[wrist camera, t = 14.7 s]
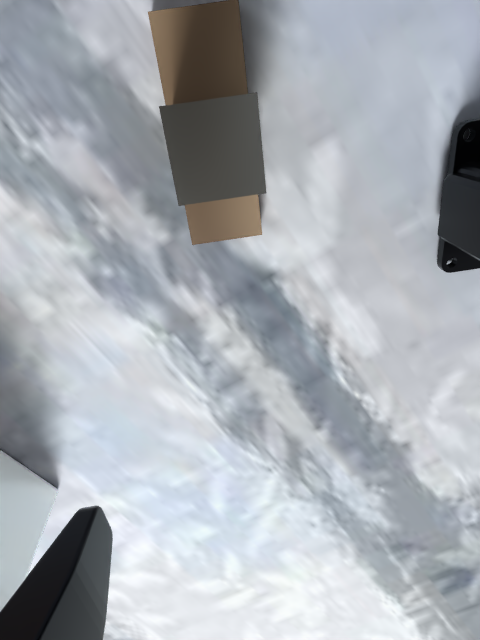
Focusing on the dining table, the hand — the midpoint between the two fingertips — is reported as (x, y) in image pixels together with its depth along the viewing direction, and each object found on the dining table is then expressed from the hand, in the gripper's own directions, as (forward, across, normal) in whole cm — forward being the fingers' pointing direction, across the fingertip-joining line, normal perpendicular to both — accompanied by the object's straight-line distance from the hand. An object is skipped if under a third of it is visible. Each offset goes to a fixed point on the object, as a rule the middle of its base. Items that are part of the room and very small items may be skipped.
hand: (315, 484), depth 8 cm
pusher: (+12, +1, -6) cm, 14 cm away
